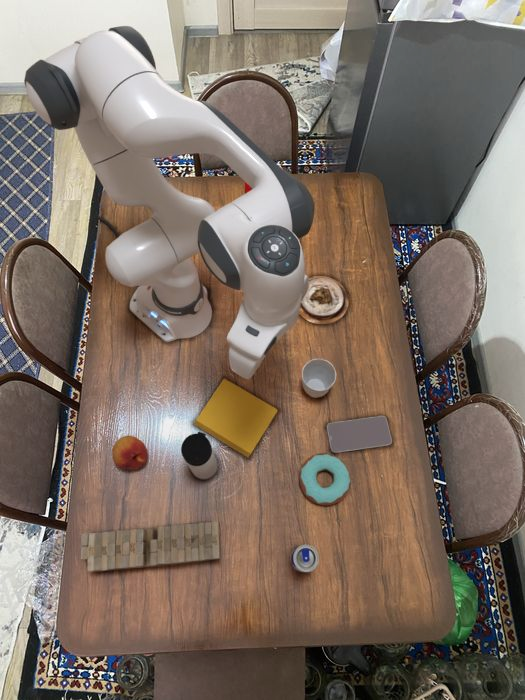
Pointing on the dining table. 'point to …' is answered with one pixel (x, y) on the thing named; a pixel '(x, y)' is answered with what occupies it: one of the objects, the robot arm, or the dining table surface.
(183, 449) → the travel mug
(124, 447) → the fruit
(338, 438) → the smartphone
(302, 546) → the beverage can
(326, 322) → the cake on gold board
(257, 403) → the yellow box
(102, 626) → the dining table surface
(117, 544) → the block tower
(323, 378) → the cup
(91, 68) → the robot arm
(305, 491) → the donut
